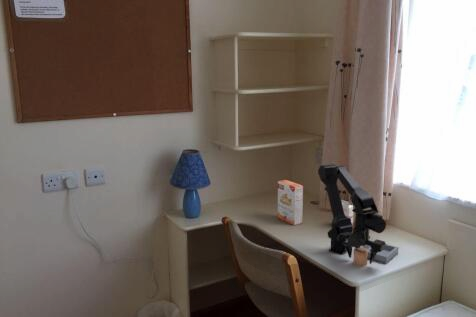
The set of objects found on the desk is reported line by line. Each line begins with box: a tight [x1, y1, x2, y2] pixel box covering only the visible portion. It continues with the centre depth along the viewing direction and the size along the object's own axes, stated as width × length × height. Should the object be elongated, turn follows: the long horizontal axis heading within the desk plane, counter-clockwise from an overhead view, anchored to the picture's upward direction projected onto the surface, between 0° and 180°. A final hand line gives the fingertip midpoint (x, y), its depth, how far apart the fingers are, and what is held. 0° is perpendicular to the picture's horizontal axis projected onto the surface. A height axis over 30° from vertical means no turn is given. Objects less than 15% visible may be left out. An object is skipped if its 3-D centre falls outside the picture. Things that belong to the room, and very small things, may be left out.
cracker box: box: [277, 179, 304, 226], centre depth 229 cm, size 14×6×21 cm, turn 33°
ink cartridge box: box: [341, 199, 354, 228], centre depth 220 cm, size 9×5×15 cm, turn 45°
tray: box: [360, 239, 400, 265], centre depth 189 cm, size 13×13×3 cm
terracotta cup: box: [352, 246, 368, 268], centre depth 180 cm, size 6×6×6 cm
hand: (360, 260), depth 180 cm, fingers open, 9 cm apart
